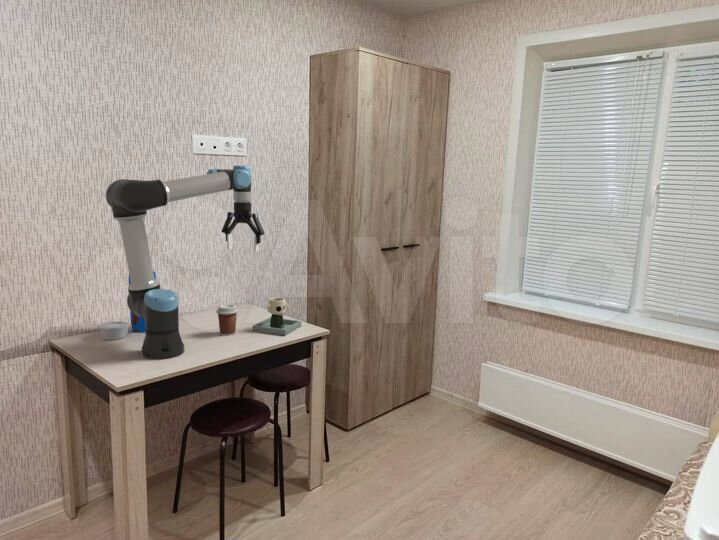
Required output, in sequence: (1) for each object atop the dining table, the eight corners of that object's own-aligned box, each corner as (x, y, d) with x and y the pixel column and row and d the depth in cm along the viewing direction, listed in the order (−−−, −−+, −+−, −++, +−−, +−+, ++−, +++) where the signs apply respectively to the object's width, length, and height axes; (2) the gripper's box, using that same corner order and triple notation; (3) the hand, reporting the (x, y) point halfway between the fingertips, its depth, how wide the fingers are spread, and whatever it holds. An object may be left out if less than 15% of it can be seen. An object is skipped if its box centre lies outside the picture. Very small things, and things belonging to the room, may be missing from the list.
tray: (285, 335, 220) (285, 330, 220) (252, 331, 225) (252, 325, 225) (301, 326, 235) (301, 320, 235) (270, 322, 240) (270, 317, 240)
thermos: (125, 331, 221) (122, 273, 216) (142, 324, 231) (140, 269, 226) (146, 333, 217) (144, 275, 213) (163, 327, 228) (161, 271, 223)
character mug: (273, 331, 224) (273, 302, 221) (262, 328, 228) (262, 299, 226) (291, 326, 232) (291, 298, 230) (281, 323, 236) (281, 296, 234)
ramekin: (130, 332, 219) (129, 320, 218) (128, 340, 209) (127, 327, 208) (101, 334, 215) (100, 322, 214) (97, 342, 205) (97, 329, 204)
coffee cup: (217, 337, 215) (216, 309, 213) (216, 331, 224) (215, 304, 222) (239, 335, 218) (239, 308, 216) (237, 329, 227) (237, 303, 225)
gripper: (272, 202, 223) (272, 250, 227) (222, 200, 231) (223, 247, 235) (263, 202, 216) (263, 252, 220) (212, 200, 224) (213, 248, 228)
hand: (243, 250), depth 227 cm, fingers open, 13 cm apart
